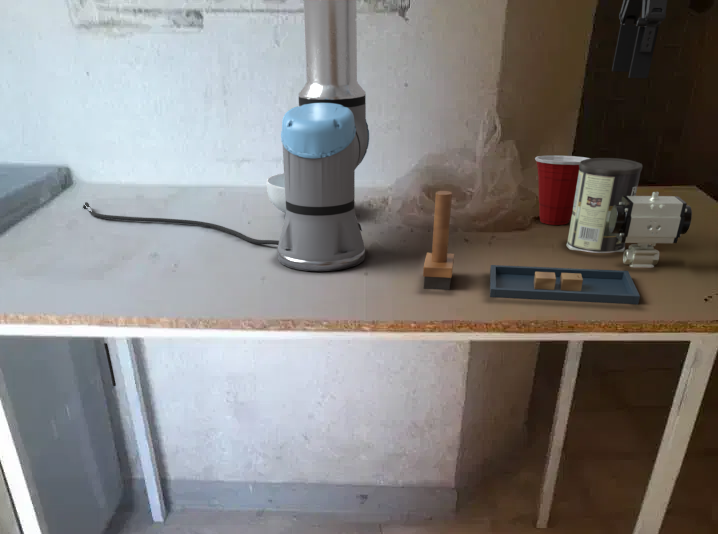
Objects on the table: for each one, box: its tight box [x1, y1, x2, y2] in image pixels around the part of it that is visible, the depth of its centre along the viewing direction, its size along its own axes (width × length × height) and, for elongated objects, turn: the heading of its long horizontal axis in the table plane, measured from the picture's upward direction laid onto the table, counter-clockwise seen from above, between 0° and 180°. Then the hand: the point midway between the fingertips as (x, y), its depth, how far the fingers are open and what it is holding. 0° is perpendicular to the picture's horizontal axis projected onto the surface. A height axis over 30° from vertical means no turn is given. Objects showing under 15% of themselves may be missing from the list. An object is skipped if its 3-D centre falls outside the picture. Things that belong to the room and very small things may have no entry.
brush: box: [422, 190, 455, 291], centre depth 113 cm, size 4×7×14 cm, turn 171°
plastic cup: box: [534, 155, 592, 226], centre depth 143 cm, size 11×11×12 cm
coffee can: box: [566, 157, 644, 254], centre depth 128 cm, size 10×10×14 cm
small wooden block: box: [560, 273, 583, 291], centre depth 113 cm, size 3×3×2 cm
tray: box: [489, 264, 641, 305], centre depth 114 cm, size 22×12×2 cm, turn 81°
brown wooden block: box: [534, 272, 556, 290], centre depth 113 cm, size 3×3×2 cm
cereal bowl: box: [266, 172, 286, 214], centre depth 150 cm, size 17×17×7 cm
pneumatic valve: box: [609, 191, 693, 269], centre depth 119 cm, size 6×12×12 cm, turn 86°
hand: (628, 74), depth 116 cm, fingers open, 13 cm apart
